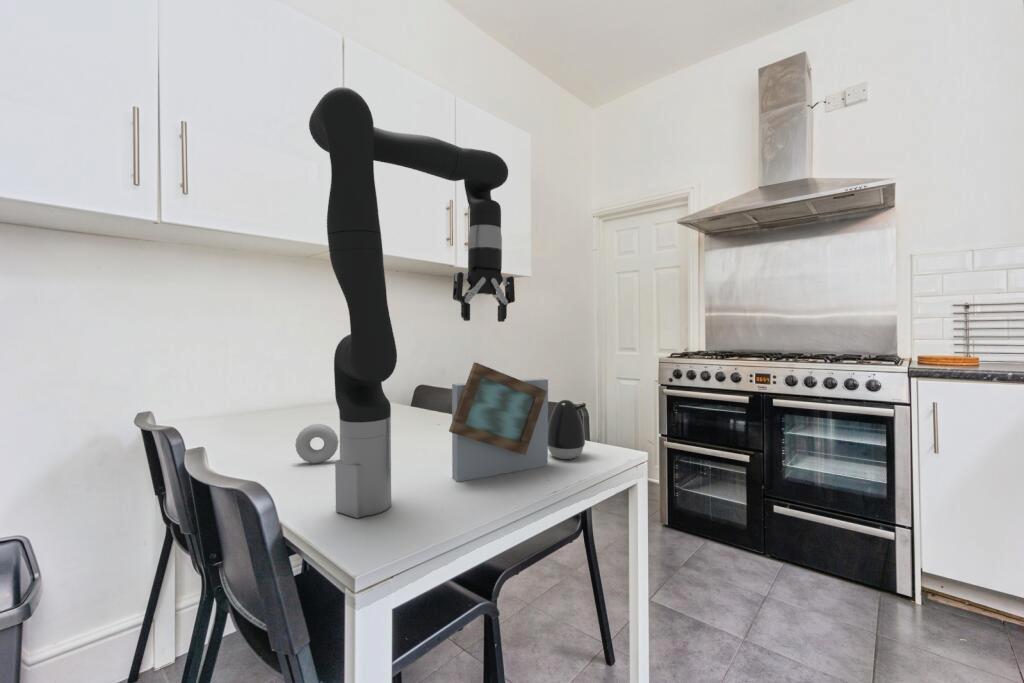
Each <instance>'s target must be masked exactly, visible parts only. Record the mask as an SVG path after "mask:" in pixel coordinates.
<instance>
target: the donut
mask: <svg viewBox="0 0 1024 683" xmlns="http://www.w3.org/2000/svg"><path fill="white" fill-rule="evenodd" d="M316 438H319V439H321V440H322V441H323V446H322V448H320V449H314V448H313V447H312V446H311V442H312V440H313V439H316ZM338 447H339V437H338V435H337V433H336V432H335V430H334V429H333V428H331V427H330V426H329V425H326V424H325V423H324V424H323V423H314V424H310V425H307V426H306V427H304V428H302V430H300V431H299V433H298V435H297V437H296V439H295V451H296V454H298V456H299V458H301V459H302V460H303V461H305V462H308V463H310V464H321V463H324V462H327V461H329V460H330V459H331V458H332V457H333V456H334V455H335V454H336V452H337V450H338Z"/></svg>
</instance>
